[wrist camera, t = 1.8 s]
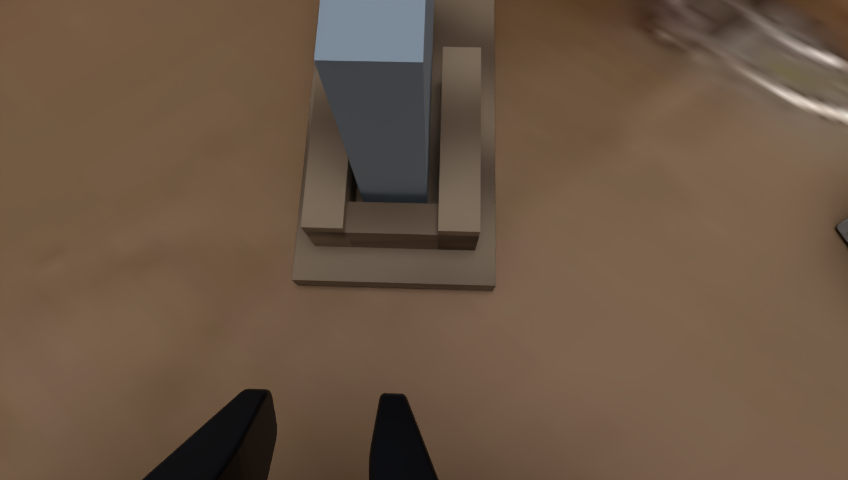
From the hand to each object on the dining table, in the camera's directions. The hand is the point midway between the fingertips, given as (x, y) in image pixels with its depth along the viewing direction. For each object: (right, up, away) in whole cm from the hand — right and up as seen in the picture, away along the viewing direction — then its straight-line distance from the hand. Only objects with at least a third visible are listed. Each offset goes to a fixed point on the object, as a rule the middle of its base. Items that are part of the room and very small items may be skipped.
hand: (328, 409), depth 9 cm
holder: (+1, +11, +16) cm, 20 cm away
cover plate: (+1, +9, +14) cm, 17 cm away
